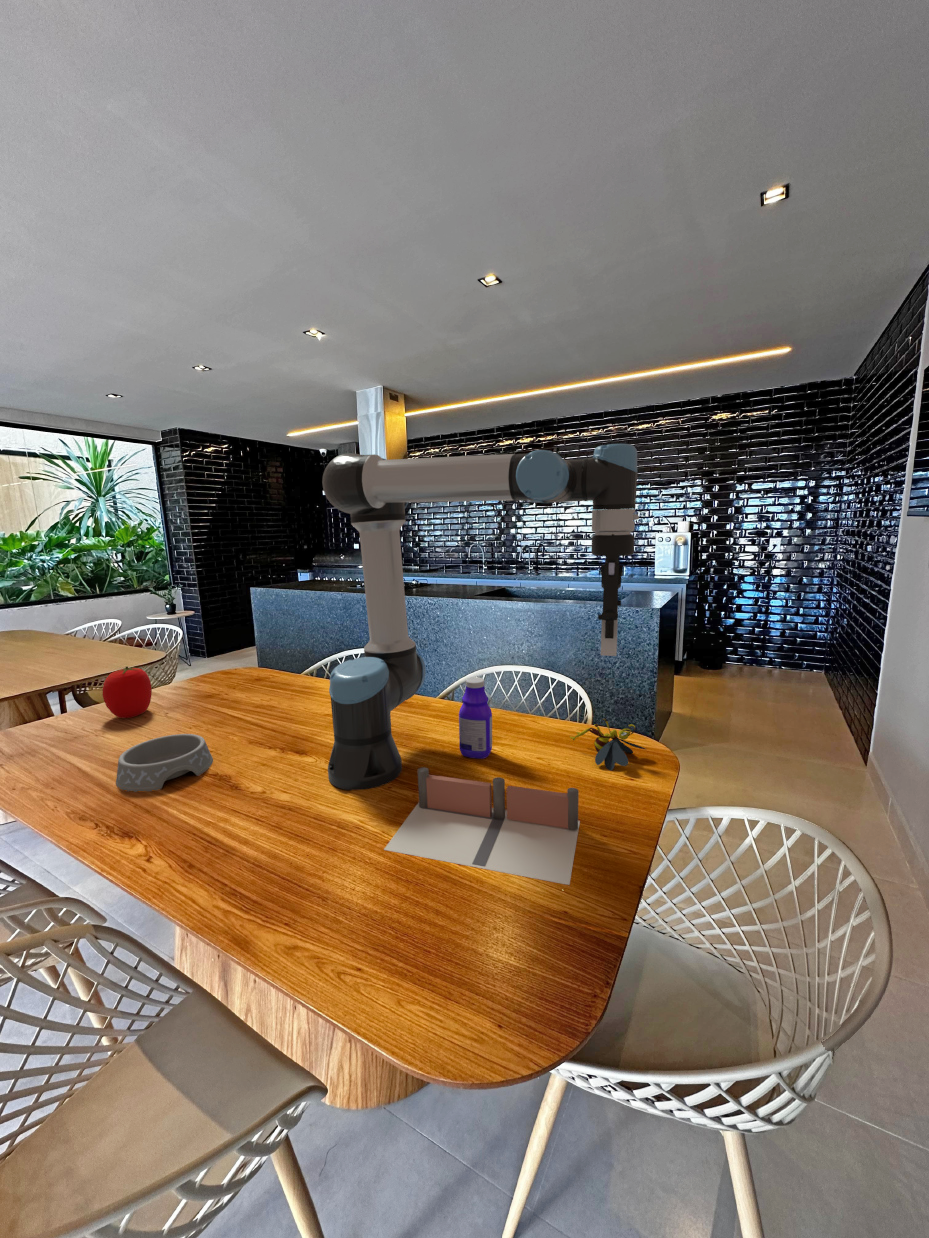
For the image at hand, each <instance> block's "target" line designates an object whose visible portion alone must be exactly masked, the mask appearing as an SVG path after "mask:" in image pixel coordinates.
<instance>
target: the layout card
mask: <svg viewBox="0 0 929 1238" xmlns="http://www.w3.org/2000/svg"><path fill="white" fill-rule="evenodd" d="M580 824H581V821H580V820H578V829H577V830H570V829H568V828H562V827H556V826H549V825H543V824H536V823H530V822H524V821H517V820H511V819H507V809H505V818H504V819H503V820H496V819H494V810H493V807H492V815H491V817H484V816H478V815H471V814H465V813H459V812H452V811H446V810H440V809H433V808H420V807H419V802H418V803H416V805H415V807H414V808H413V809H412V811H411V812H410V813H409V815H408V816H407V817H406V819H405V820H404V821H403V823H402V825H401V826H399V828H398V830H397V831H396V832H395V834H394V835H393V836H392V838H391V839H390V840H389V841H388V843H387V844H386V846H385V847H384V848H383V850H384V851H387V852H393V853H399V854H402V855H403V854H404V855H409V856H413V857H414V856H415V857H419V858H420V857H421V858H423V859H424V858H425V859H430V860H436V861H441V862H444V863H445V862H446V863H452V864H456V865H461V866H466V867H470V868H471V867H472V868H478V869H483V870H488V871H493V872H499V873H503V874H508V875H512V876H513V875H515V876H519V877H525V878H529V879H535V880H540V881H546V882H550V883H557V884H561V885H566V886H571V885H570V884H571V879H572V874H573V873H572V872H573V871H572V870H573V865H574V858H575V853H576V847H577V841H578V835H579V828H580Z"/></svg>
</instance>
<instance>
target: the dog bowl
mask: <svg viewBox="0 0 929 1238" xmlns="http://www.w3.org/2000/svg"><path fill="white" fill-rule="evenodd" d="M117 760H118V761H117V772H116V778H115V785H116V788H118V787H119V788H120V790H121V789H122V790H121V791H124V790H127V791H126V792H129V791H134V792H133V793H138V792H137V791H147V792H153V791H152V790H155V791H159V789H160V790H161V789H162V788H163V786H164V783H165V782H166V781H170V780H172V779H175V778H178V777H181V776H183V775H186V774H187V773H189V772H193V774H195V775H196V776H198V777H199V776H200V775H203V774H204V773H205V772H206V771H208V769H210V768H211V766H212V765H213V763H214V758H213V756H212V753H211V752H210V750H209V746H208V745H207V742H206V740H205V739H204V737H202V736H201V735H198V734H192V733H180V734H179V733H177V734H170V735H164V736H160V737H156V738H152V739H148V740H146V741H143V742H140V743H137V744H135V745H133V746H131V747H129V748H128V749H126V750H125V751H123V752H122V753H121V754H120V756H119V758H118V759H117ZM119 788H118V789H119Z"/></svg>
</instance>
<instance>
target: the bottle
mask: <svg viewBox="0 0 929 1238" xmlns="http://www.w3.org/2000/svg"><path fill="white" fill-rule="evenodd" d="M485 684H486V683H485V679H484V677H483V678H482V677H477V676H476V677H474V676H471V677H467V678H466V679H465V691H464V693H463V696H462V697H461V700H462V703H461V704H462V705H461V707H460V709H459V712H458V724H459V725H458V726H459V728H458V729H459V730H458V735H459V740H458V741H459V744H458V745H459V751H460V754H461V755H462V756H463V757H466V758H470V759H481V760H482V759H486V758H488V757H489V755H490V754H491V752H492V749H493V713H492V709H491V706H489V704H488V703H489V697H488V695H487V693H486V689H485Z"/></svg>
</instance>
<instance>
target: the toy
mask: <svg viewBox="0 0 929 1238" xmlns="http://www.w3.org/2000/svg"><path fill="white" fill-rule="evenodd" d="M603 720H604V721H605V724H606V727H607V729H608V731H609V733H608V732H606V733H603V732H602V731H601V728H600V727H599V725H598V723H596V724H594V725H593V727H589V728H586V729H584V730H583V731H581V732H578V731H576V735H575V736H571V735H570V736H569V737H570V739H571V740H572V741H575V740H576V738H578V737H581V736H583V735H585V734H587V733H588V732H590V733H591V734H594V735H595V736H597V737H596V738H595V740H594V748H595V750H596V752H597V753H596V755H595V758H594V761H595V764H596V765H597V766H600V765H601V764H602V763H604V765H605V768H606V769H607V770H608V771H611V772H612V771H613V770H614V768H615V765H616V764H617V765H619V766H623V767H626V766H628V765H629V759H628V756H627V754H631V755H633V754H634V750H632V748H630V747H629V746H631V747H633V748H637V749H641V750H646V748H645V747H644V746H640V745H638V744H635V743H632V742H630V741H626V740H627V739H628V738H629V737H630V736H631V735H632V734H634V733H635V731H636V726H635V725H634V724H628V727H629V728H623V729H621V730H618V731H617V730H616V729H613V730H611V729H610V726H609V721H607V719H606V718H603ZM594 727H595V728H594ZM631 727H633V728H634V730H632V729H631ZM610 739H611V740H610ZM628 745H629V746H628Z"/></svg>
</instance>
